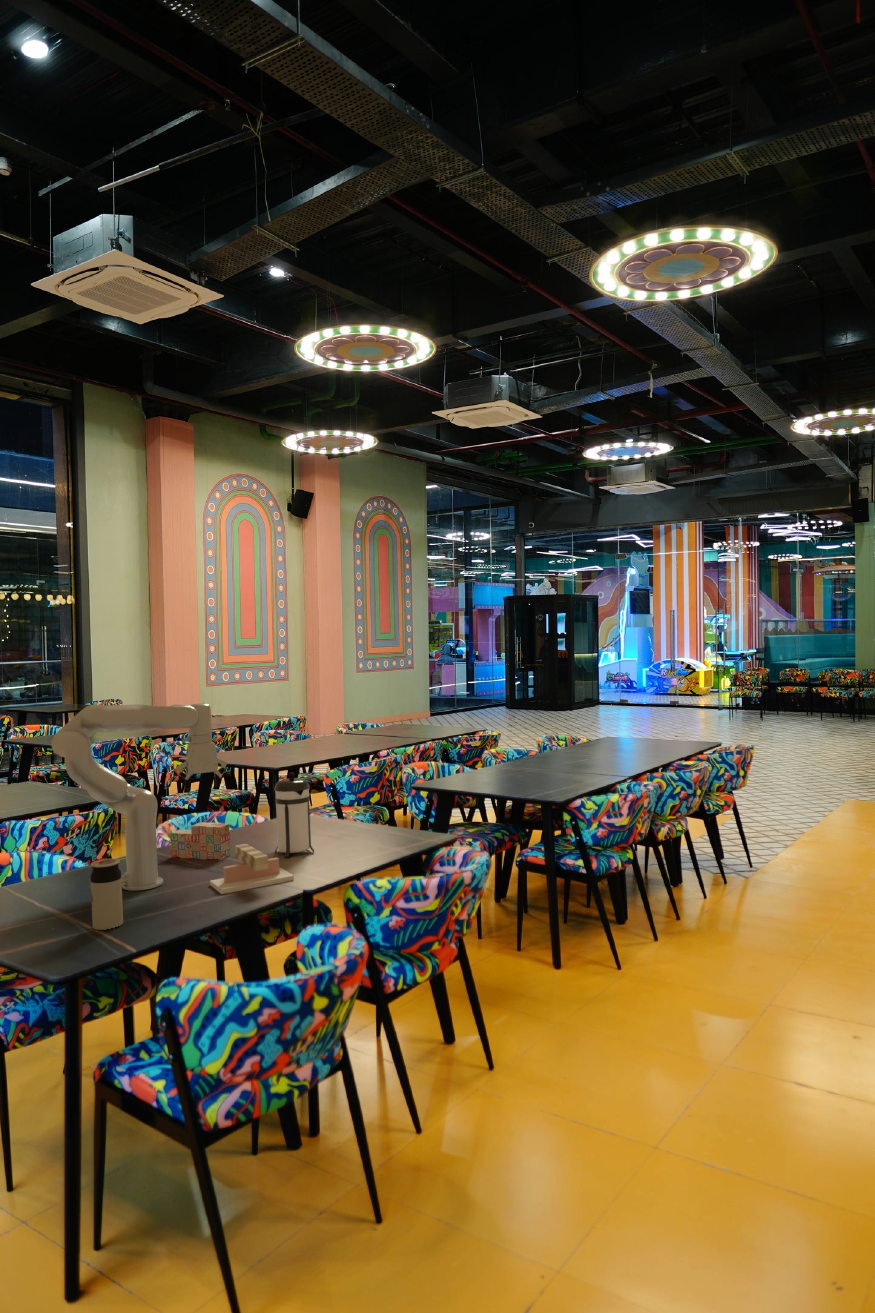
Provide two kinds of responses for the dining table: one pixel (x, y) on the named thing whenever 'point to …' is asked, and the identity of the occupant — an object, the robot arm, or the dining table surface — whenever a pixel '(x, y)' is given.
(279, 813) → the coffee press
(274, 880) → the stand
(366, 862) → the dining table surface
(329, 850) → the dining table surface
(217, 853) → the stack of blocks
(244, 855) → the oak bar
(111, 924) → the travel mug
